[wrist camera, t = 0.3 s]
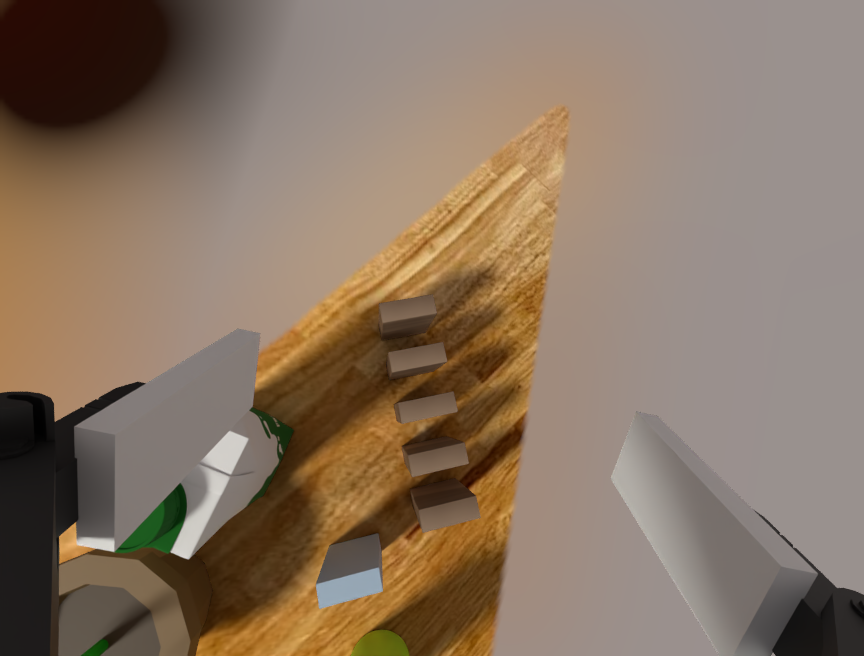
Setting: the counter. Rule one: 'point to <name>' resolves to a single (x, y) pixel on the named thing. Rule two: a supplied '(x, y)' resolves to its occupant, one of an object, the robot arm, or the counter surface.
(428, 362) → the domino
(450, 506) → the domino
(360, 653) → the soap dispenser
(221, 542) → the counter surface
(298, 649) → the counter surface
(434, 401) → the domino
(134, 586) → the flowerpot
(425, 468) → the domino
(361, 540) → the domino
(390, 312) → the domino
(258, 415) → the milk carton
